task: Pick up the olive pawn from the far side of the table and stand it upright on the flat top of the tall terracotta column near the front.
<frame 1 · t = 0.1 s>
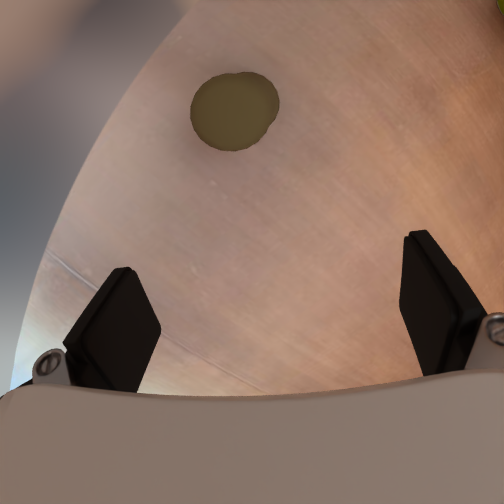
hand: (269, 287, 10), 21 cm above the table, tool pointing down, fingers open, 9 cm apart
olive pawn: (246, 102, 27), on the table
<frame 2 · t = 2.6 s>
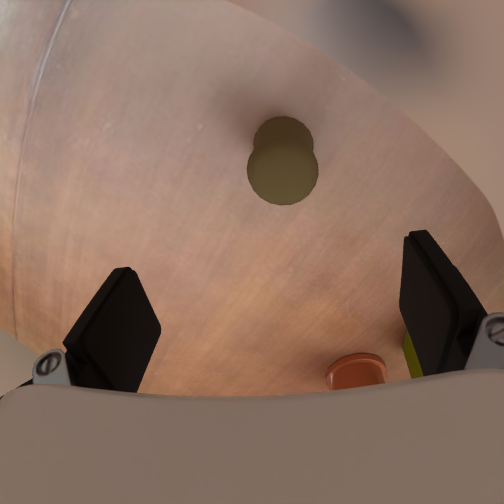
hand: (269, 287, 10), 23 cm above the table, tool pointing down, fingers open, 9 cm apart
olive pawn: (283, 145, 31), on the table
vape: (415, 336, 42), on the table
column: (355, 373, 47), on the table
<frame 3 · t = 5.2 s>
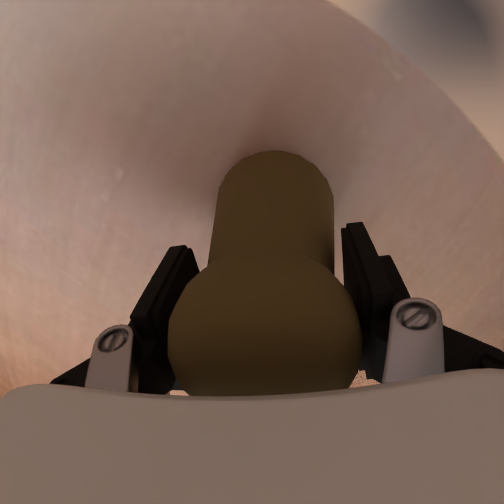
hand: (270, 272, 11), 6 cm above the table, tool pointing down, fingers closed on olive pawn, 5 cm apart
olive pawn: (275, 206, 16), on the table, touching gripper
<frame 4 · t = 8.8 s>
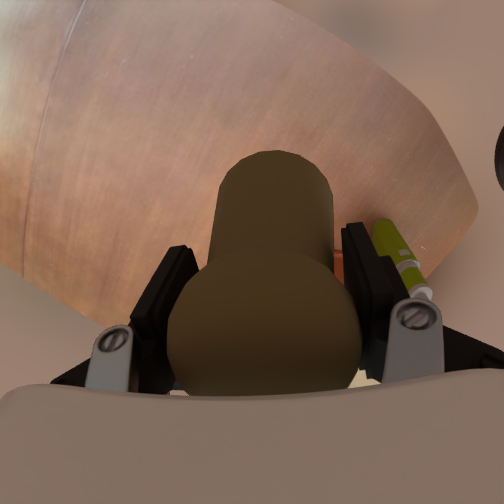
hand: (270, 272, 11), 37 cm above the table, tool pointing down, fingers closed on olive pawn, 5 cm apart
olive pawn: (275, 206, 16), point 31 cm above the table, touching gripper
vape: (382, 234, 50), on the table
column: (332, 274, 55), on the table
when the fingers open (30 cm above the table, at t = 12.8 s): olive pawn stays where it is, resting on column.
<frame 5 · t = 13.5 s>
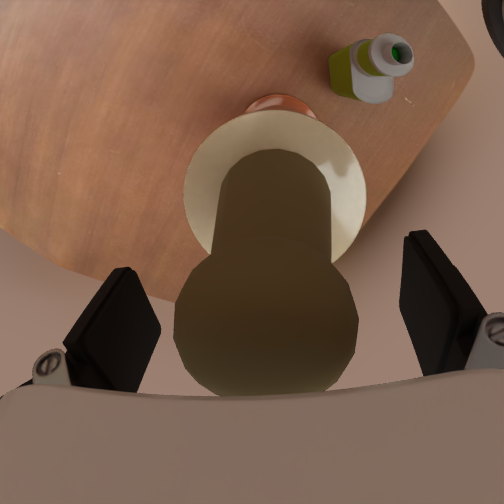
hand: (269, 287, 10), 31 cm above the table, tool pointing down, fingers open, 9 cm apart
olive pawn: (275, 202, 17), point 24 cm above the table, touching column
vape: (344, 73, 33), on the table
column: (279, 133, 37), on the table
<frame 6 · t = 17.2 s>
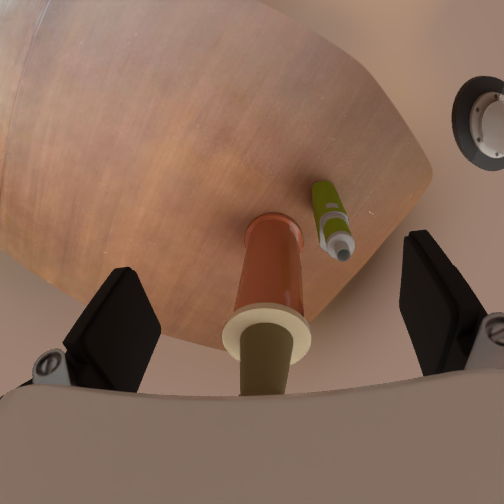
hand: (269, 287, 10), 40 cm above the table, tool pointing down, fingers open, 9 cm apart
olive pawn: (266, 340, 35), point 24 cm above the table, touching column
vape: (323, 196, 51), on the table
column: (273, 239, 55), on the table
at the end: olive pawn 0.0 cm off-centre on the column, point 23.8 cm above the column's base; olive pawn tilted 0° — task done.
